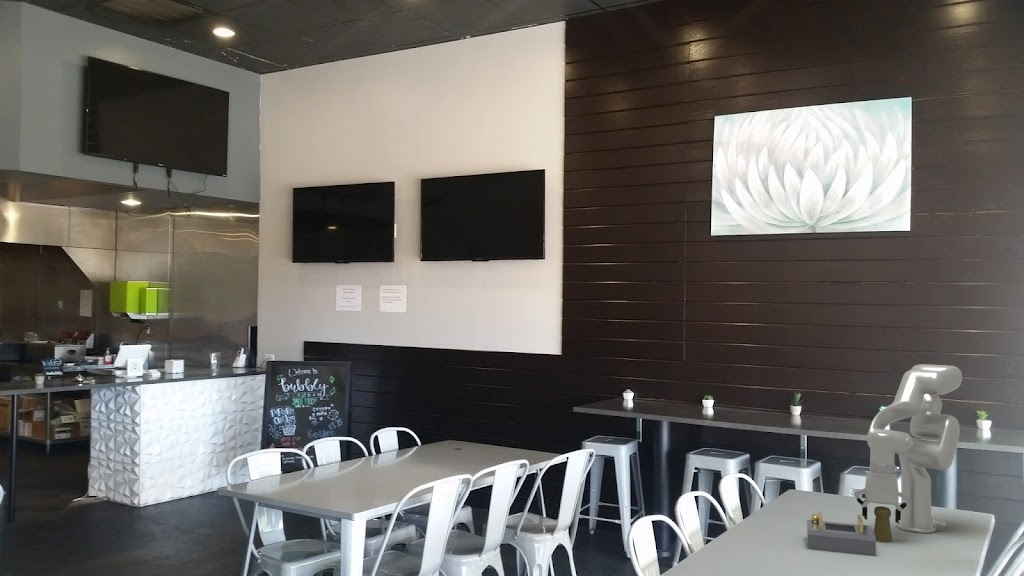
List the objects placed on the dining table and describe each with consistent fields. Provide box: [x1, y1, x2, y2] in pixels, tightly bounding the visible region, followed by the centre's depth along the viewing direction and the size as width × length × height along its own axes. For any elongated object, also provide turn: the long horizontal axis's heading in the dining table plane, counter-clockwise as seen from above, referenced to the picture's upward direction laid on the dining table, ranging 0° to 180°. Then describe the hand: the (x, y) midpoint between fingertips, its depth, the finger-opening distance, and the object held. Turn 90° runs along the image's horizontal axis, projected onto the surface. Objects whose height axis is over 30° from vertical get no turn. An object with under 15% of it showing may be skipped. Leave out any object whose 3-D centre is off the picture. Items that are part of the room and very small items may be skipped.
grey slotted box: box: [806, 511, 877, 557], centre depth 262 cm, size 20×14×10 cm
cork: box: [873, 506, 893, 543], centre depth 270 cm, size 6×6×11 cm
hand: (881, 520), depth 270 cm, fingers open, 9 cm apart
